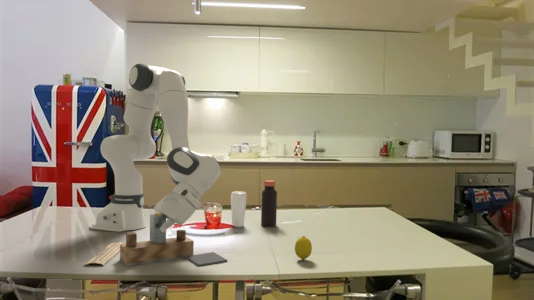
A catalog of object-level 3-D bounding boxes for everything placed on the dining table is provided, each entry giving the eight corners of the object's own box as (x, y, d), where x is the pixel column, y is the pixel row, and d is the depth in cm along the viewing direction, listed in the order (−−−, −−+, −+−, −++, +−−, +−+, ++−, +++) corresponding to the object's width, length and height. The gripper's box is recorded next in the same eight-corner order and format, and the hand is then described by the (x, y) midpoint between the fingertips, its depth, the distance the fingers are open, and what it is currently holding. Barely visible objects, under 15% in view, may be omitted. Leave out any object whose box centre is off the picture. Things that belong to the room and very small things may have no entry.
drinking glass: (233, 228, 182) (234, 193, 181) (227, 225, 188) (228, 191, 187) (248, 227, 185) (249, 193, 184) (241, 224, 191) (242, 191, 190)
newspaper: (103, 268, 128) (103, 262, 128) (80, 268, 128) (80, 262, 128) (126, 247, 152) (126, 242, 151) (106, 247, 151) (106, 242, 151)
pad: (198, 266, 130) (198, 264, 130) (185, 258, 138) (185, 256, 138) (227, 261, 135) (227, 259, 135) (213, 253, 144) (213, 252, 144)
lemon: (293, 257, 142) (294, 234, 141) (309, 257, 142) (310, 234, 142) (295, 262, 136) (296, 238, 136) (312, 262, 137) (313, 238, 136)
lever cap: (153, 244, 135) (154, 214, 134) (149, 241, 138) (150, 212, 138) (165, 243, 137) (166, 213, 136) (161, 240, 140) (162, 211, 140)
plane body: (126, 266, 129) (126, 236, 128) (119, 259, 135) (120, 231, 134) (193, 256, 141) (194, 229, 140) (184, 250, 147) (185, 224, 146)
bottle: (267, 227, 185) (269, 182, 184) (257, 224, 190) (259, 180, 189) (279, 225, 189) (280, 181, 189) (269, 223, 195) (270, 179, 194)
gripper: (167, 185, 149) (139, 215, 144) (190, 193, 132) (159, 228, 127) (179, 197, 152) (152, 227, 147) (203, 206, 135) (173, 240, 130)
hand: (156, 227), depth 137 cm, fingers open, 7 cm apart
